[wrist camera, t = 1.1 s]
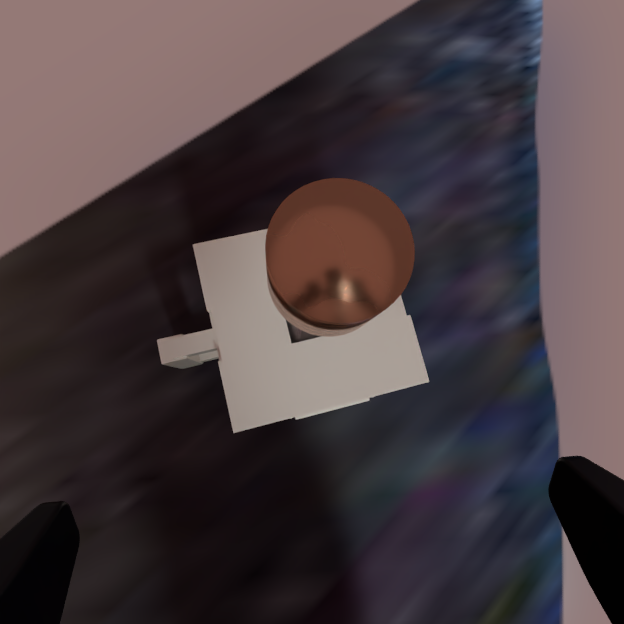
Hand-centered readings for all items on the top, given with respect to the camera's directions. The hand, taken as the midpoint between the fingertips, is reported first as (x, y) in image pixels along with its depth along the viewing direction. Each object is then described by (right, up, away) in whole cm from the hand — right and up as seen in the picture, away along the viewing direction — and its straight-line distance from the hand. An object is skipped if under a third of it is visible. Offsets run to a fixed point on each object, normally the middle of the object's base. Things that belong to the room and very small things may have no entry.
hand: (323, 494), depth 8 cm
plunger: (0, +3, +10) cm, 11 cm away
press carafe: (-2, +2, +15) cm, 15 cm away
